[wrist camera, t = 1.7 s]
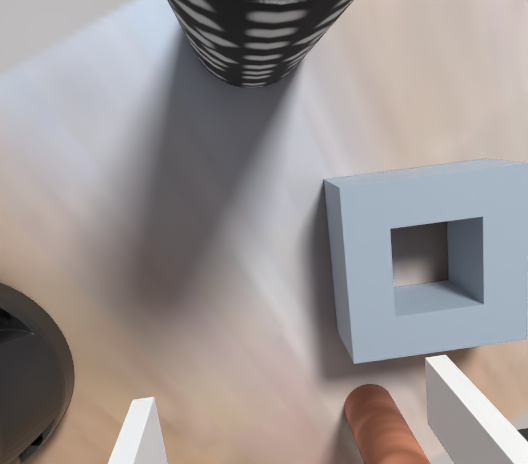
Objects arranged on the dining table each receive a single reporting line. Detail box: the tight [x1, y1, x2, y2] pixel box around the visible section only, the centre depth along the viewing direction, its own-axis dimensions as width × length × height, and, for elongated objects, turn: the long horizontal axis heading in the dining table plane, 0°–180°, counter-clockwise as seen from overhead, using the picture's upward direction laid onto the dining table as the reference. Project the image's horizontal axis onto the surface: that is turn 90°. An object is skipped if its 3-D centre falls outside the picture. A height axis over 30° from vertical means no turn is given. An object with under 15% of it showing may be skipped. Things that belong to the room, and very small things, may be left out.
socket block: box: [324, 159, 528, 364], centre depth 31 cm, size 12×12×5 cm
